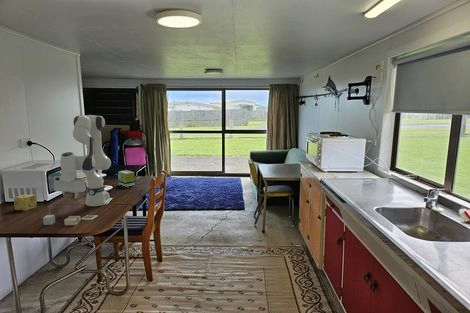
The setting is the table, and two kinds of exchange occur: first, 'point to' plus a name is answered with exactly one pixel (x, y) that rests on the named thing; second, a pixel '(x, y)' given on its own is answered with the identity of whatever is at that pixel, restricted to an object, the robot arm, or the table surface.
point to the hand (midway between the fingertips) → (70, 198)
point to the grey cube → (49, 219)
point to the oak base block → (72, 220)
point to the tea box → (126, 178)
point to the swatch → (89, 217)
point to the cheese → (25, 202)
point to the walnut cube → (69, 196)
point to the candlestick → (103, 180)
